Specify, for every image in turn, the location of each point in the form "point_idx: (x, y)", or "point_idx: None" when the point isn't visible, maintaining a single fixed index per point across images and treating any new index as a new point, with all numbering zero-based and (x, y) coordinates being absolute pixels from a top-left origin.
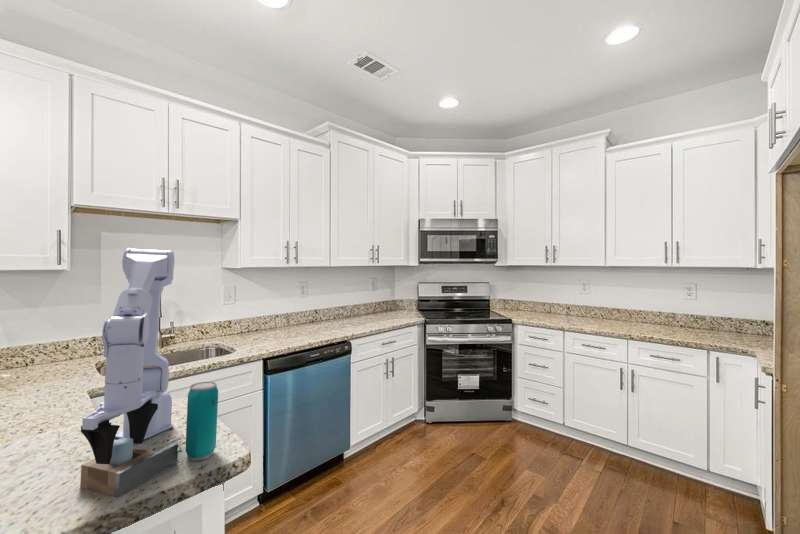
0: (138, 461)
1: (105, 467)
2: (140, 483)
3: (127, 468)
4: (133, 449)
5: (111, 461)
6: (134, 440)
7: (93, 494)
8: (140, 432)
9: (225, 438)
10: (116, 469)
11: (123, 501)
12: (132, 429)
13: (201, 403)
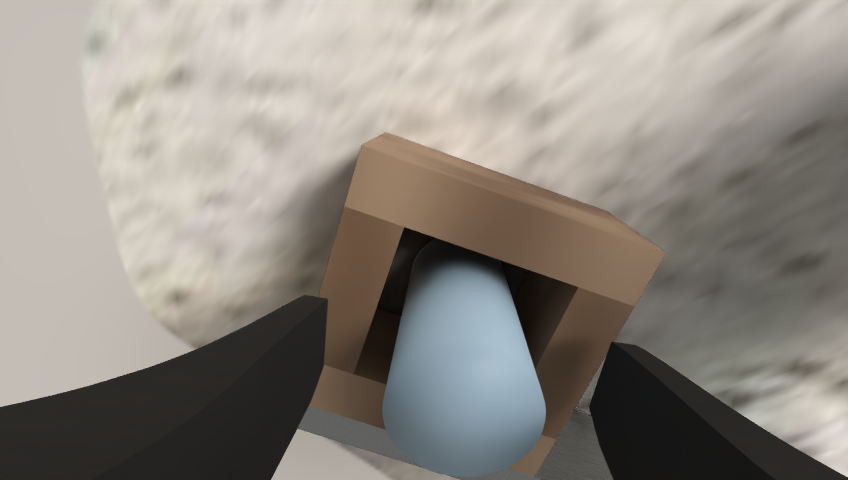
0: None
1: (340, 317)
2: None
3: (337, 430)
4: (582, 343)
5: (404, 314)
6: (611, 384)
7: (332, 238)
8: (632, 476)
9: None
10: (320, 388)
11: None
12: (670, 431)
13: None
